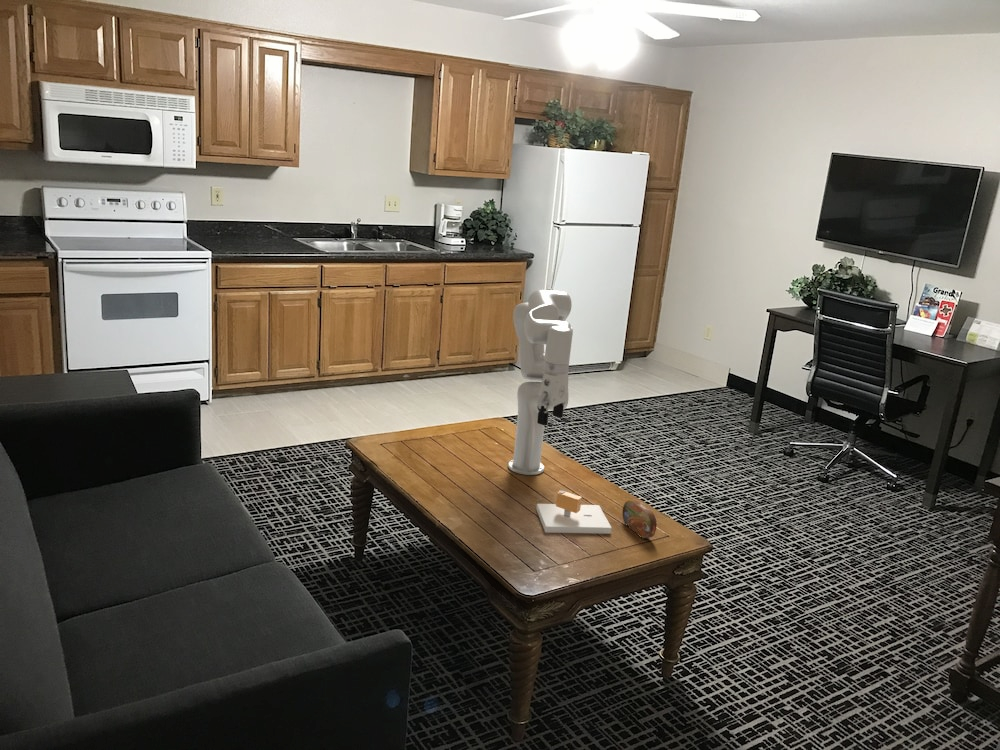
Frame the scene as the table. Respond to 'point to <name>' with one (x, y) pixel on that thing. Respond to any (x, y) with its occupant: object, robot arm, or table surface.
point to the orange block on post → (568, 501)
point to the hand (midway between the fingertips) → (549, 420)
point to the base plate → (573, 519)
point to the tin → (639, 519)
